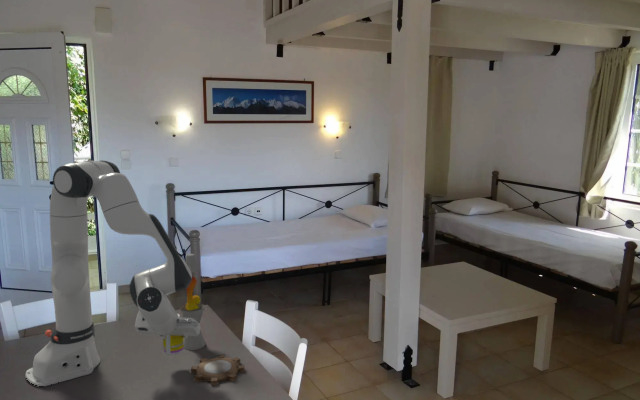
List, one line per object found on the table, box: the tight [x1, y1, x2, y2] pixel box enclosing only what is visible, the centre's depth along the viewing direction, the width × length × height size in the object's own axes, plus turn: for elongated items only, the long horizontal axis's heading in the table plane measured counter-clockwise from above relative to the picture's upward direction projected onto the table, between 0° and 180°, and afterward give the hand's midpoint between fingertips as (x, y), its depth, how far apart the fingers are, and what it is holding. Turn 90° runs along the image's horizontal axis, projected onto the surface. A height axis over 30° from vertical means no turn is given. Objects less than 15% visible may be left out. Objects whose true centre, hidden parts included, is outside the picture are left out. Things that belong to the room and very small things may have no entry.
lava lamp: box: [179, 253, 206, 351], centre depth 185 cm, size 9×9×35 cm
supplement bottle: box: [162, 313, 185, 356], centre depth 168 cm, size 7×7×13 cm
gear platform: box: [190, 354, 246, 386], centre depth 168 cm, size 18×18×2 cm
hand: (173, 335), depth 169 cm, fingers closed on supplement bottle, 7 cm apart
